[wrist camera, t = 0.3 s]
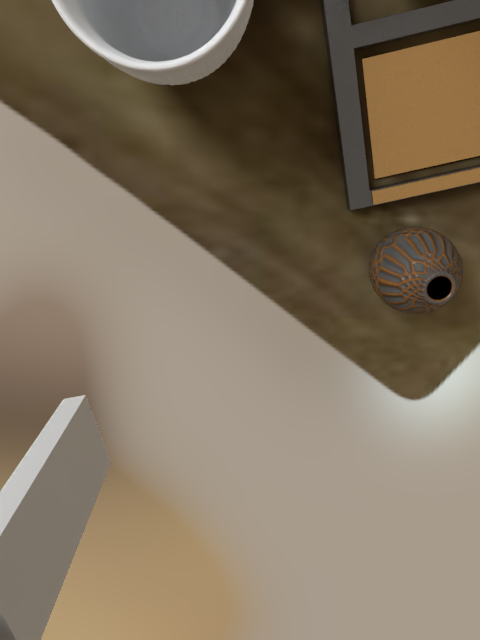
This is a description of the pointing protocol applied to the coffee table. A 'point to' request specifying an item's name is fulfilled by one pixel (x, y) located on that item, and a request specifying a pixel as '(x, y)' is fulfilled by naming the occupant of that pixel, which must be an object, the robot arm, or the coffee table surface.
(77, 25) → the mug
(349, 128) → the grey double frame
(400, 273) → the vase
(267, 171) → the coffee table surface
